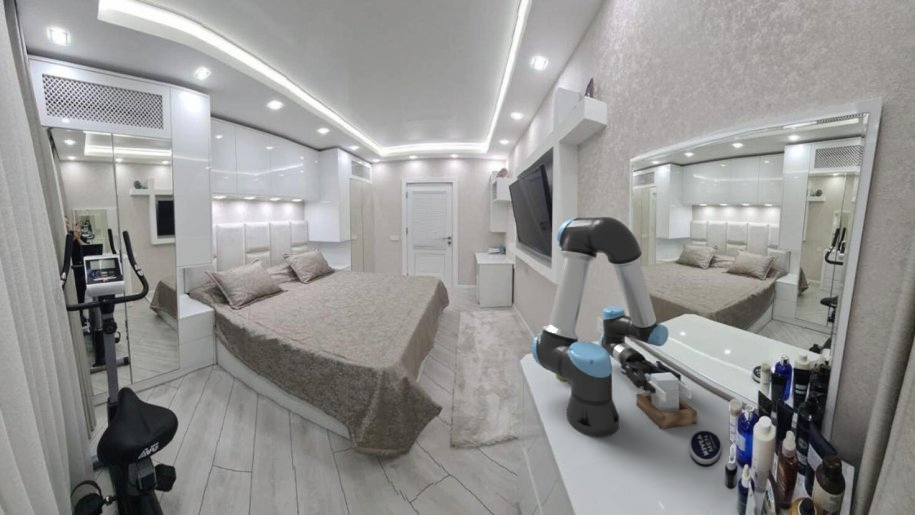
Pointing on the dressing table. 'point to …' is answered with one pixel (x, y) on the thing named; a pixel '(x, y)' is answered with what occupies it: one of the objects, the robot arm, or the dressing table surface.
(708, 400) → the dressing table surface
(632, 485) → the dressing table surface
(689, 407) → the walnut square tray
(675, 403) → the skincare box
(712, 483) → the dressing table surface
